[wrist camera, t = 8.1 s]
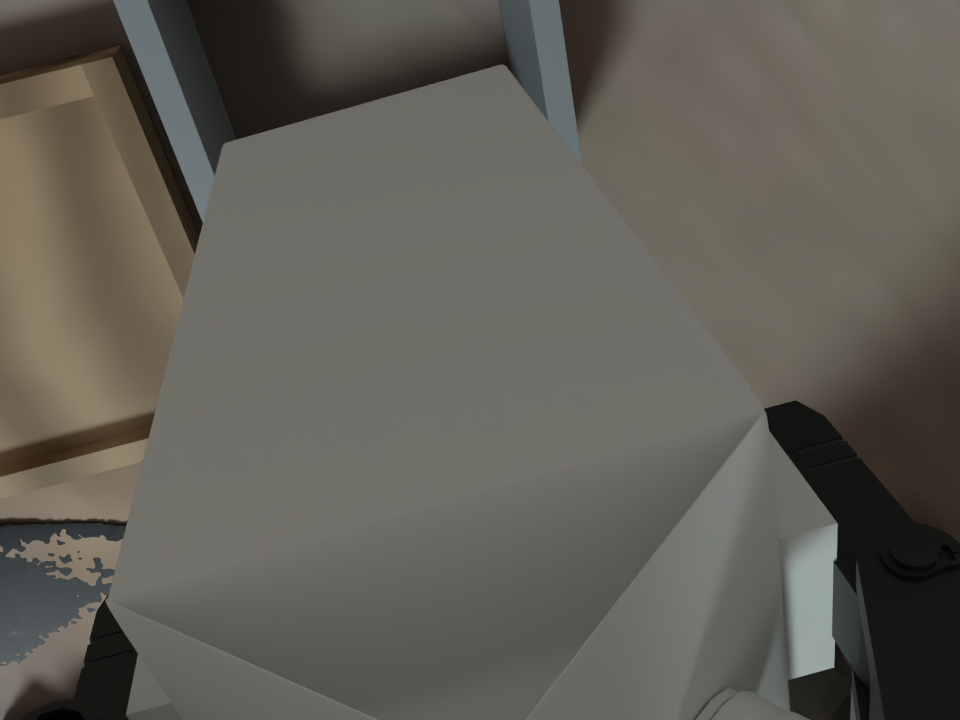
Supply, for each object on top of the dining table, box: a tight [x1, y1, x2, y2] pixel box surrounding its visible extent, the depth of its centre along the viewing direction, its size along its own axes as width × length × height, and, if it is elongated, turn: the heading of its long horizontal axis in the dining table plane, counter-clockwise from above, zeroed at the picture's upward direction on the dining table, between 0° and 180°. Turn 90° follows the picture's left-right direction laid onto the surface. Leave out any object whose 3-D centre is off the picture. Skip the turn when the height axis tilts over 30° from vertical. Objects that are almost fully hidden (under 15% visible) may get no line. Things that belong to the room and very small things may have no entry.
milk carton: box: [106, 65, 810, 720], centre depth 16 cm, size 7×7×19 cm
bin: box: [113, 0, 582, 222], centre depth 35 cm, size 14×14×7 cm
